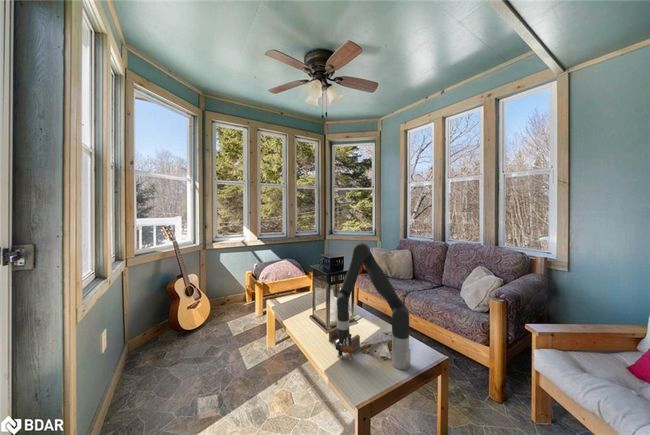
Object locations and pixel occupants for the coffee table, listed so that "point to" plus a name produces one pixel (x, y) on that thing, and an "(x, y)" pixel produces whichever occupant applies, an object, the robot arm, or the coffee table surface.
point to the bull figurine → (347, 350)
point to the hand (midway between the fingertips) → (343, 353)
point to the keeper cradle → (354, 341)
